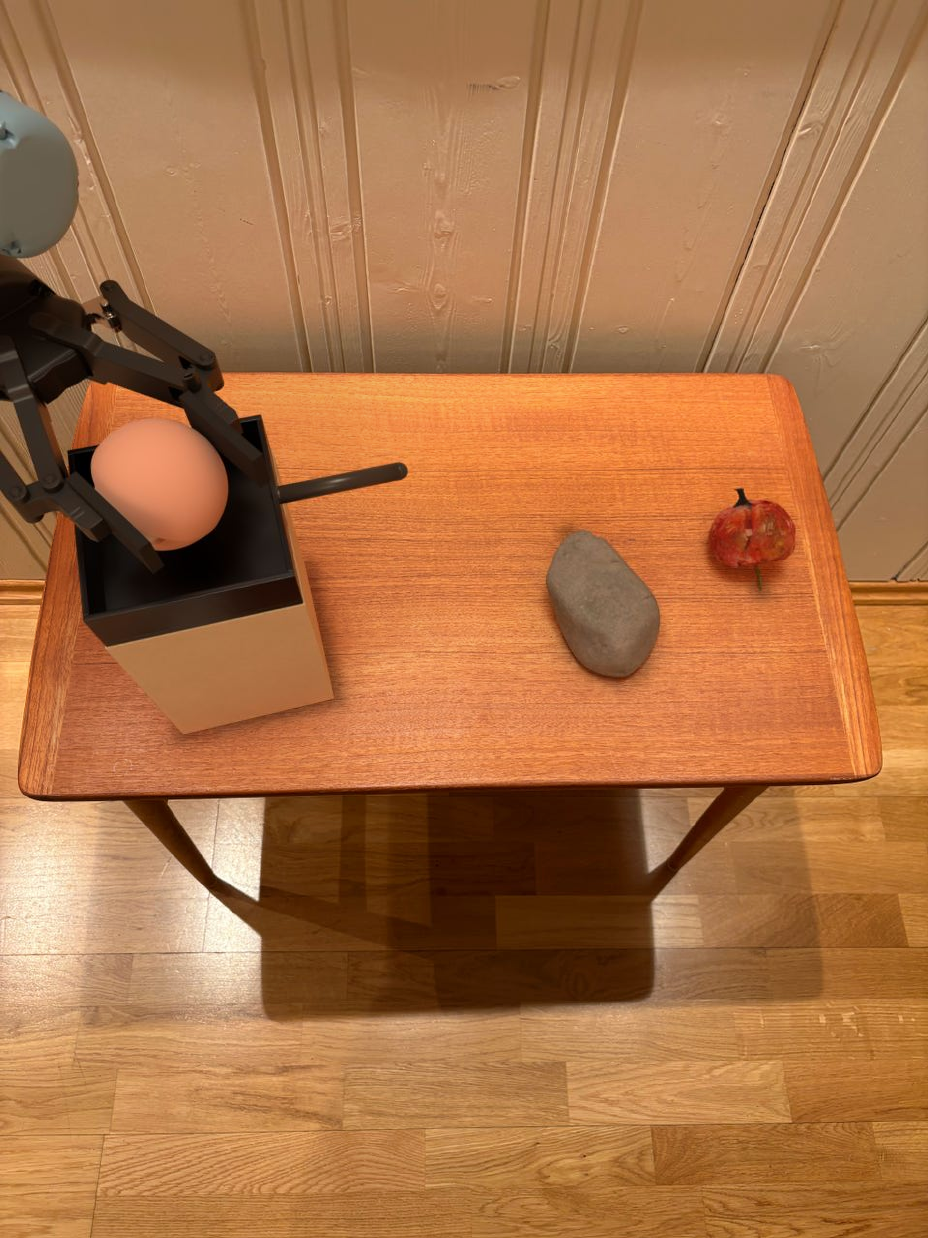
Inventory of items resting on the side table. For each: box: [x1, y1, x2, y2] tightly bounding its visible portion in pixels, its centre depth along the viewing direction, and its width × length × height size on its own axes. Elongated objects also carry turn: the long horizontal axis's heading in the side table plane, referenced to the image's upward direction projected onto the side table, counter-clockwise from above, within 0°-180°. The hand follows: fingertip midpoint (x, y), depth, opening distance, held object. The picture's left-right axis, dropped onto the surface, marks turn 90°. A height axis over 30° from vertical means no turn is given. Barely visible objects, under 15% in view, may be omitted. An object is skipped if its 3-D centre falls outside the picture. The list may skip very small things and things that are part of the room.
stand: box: [104, 447, 335, 735], centre depth 66 cm, size 13×13×19 cm
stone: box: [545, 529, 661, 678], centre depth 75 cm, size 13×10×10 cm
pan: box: [66, 414, 409, 647], centre depth 56 cm, size 22×13×4 cm, turn 105°
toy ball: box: [91, 417, 228, 551], centre depth 51 cm, size 8×8×8 cm
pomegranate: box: [708, 487, 797, 591], centre depth 78 cm, size 7×7×10 cm
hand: (208, 513), depth 48 cm, fingers closed on toy ball, 7 cm apart
